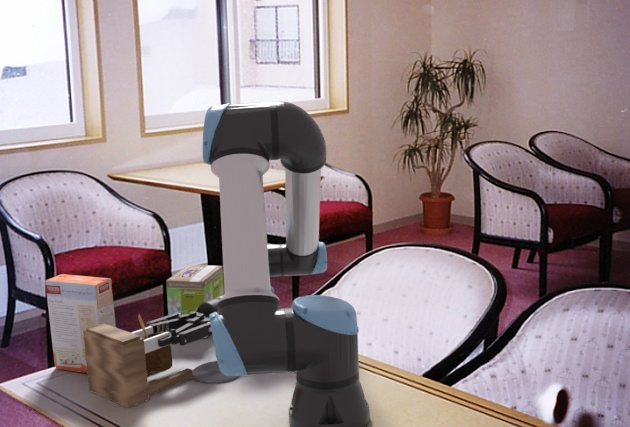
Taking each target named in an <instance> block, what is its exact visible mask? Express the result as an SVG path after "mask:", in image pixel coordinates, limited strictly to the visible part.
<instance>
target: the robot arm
mask: <svg viewBox="0 0 630 427" xmlns="http://www.w3.org/2000/svg"><path fill="white" fill-rule="evenodd" d="M326 144H327V143H326V140H325V137H324V134H323V132H322V130H321V128H320V127H319V125H318V123H317V121H315V119H314V118H313V117H312V116H311V115H310V113H308V112H307V111H306V110H305V109H303V108H302V107H301V106H298V105H296V104H295V103H292V102H289V101H288V102H287V101H284V100H282V101H279V100H278V101H271V102H269V101H268V102H249V103H248V102H247V103H229V102H228V103H226V104H218V105H213V106H210V107H209V108H207V110H206V112H205V116H204V122H203V131H202V160H203V163H204V164H206V165H208V166H210V171H211V173H212V174H213V175H214V176H216V177H217V178H218V182H219V183H218V186H219V202H220V203H219V204H220V207H219V208H220V222H221V224H220V225H221V228H220V229H221V244H222V248H221V249H222V268H223V285H224V295H223V296H220V297H217V298H215V299H211V300H208V301H205V302H203V303H201V304H200V305H199V307H198V309H197V311H196V312H195V311H194V312H189V313H188V314H185V315H182V311H177V312H175V313H174V314H171V315H168V314H167V315H165V316H162V317H159V318H157V319H153V320H150V321H147V322H145V323H146V326H145V331H146V333H147V335H149V334H153V333H158V330H157V328H159V333H162V334H159V335H156V336H153V337H151V338H148V339H145V340H144V347H145V354H146V353H149V352H151V351H154V350H157V349H159V348H162V347H165V346H168V345H171V344H172V345H177V344H179V345H180V346H185V345H187V344H191V343H193V342H196V341H198V340H201V339H205V338H204V337H206V336H207V337H208V336H212V340H213V346H214V350H215V351H214V352H215V356H216V361H217V362H218V367H219V370H220V371H221V373H222V374H224V375H226V376H240V377H244V378H247V377H248V376H254V375H255V376H256V375H267V374H268V375H271V374H284V373H295V375H296V376H295V379H296V380H295V381H296V383H295V386H294V391H293V395H292V398H291V402H290V405H289V408H288V423H289V424H288V425H290V427H367V426H368V424H369V423H370V419H371V415H370V414H371V413H370V410H371V409H370V404H369V402H368V401H367V399H366V397H365V393H364V390H363V387H362V384H361V381H360V366H359V339H358V337H359V336H358V334H359V330H360V329H359V326H358V317H357V312H356V309H355V307H354V306H353V305H352V304H351V303H350V302H348V301H346V300H344V299H341V298H338V297H335V296H334V297H333V296H330V295H322V294H321V295H320V294H311V295H310V294H309V295H303V296H298V297H296V298H294V300H293V301H292V304H291V307H283V308H282V307H281V304H280V297H278V295H276V293H275V288H273V286H272V285H271V278H272V277H273V278H274V277H286V276H287V277H291V276H312V275H315V274H323V273H325V272H326V271H327V268H328V255H327V254H328V253H327V246H326V244H325V242H323V241H319V239H320V233H319V232H320V214H321V212H320V209H321V208H320V207H321V178H322V177H321V175H322V174H321V173H322V169H323V167H325V166H326V165H325V164H326V162H327V145H326ZM270 161H280V164H281V165H282V168H284V169H285V170H284V174H285V177H284V178H285V182H284V184H285V243H282V244H281V243H278V244H268V234H267V232H268V231H267V221H266V220H267V219H266V206H265V192H264V191H265V190H264V177H263V176H264V175H265V174H266V173H267V172H268V171H269V169H270V168H271V167H270V165H271V164H270ZM162 318H165V323H164V321H163V320H164V319H162ZM160 319H161V320H160ZM166 319H167V320H168V321H167V320H166ZM160 321H161V323H160ZM168 322H169V323H168ZM166 323H167V327H169V329H168V328H166ZM162 325H163V327H162ZM163 330H164V331H163ZM170 332H171V335H170ZM130 333H133V334H136V335H138V336H140V338H143V339H144V338H145V333H144V330H142V328H141V329H137V330H134V331H132V332H130ZM207 337H206V338H207Z"/></svg>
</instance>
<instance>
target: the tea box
mask: <svg viewBox="0 0 630 427" xmlns="http://www.w3.org/2000/svg"><path fill="white" fill-rule="evenodd" d="M224 294H225V292H224V271H223V265H206V264H204V265H203V264H187V265H186V266H184V267H183V268H181V269H180V270H178V271H177V272H176V273H175V274H173V275H171V277H169V278H168V279H166V295H167V296H166V298H167V300H166V301H167V312H168V313H167V316H168V315H171V314H174V313H175V312H177V311H182V315H185V314H188V313H189V312H194V311H195V312H196V311H197V309H198V307H199V305H200V304H201V303H203V302H205V301H208V300H211V299H215V298H217V297H220V296H223V295H224ZM170 335H171V332H170ZM207 337H208V336H206V337H204V338H203V339H207Z"/></svg>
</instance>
